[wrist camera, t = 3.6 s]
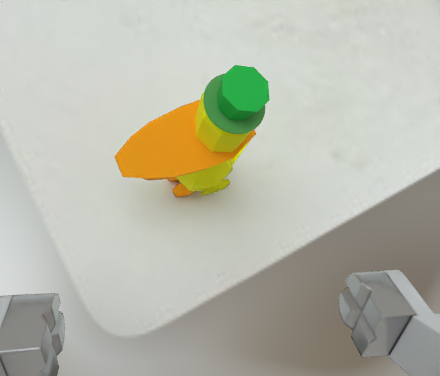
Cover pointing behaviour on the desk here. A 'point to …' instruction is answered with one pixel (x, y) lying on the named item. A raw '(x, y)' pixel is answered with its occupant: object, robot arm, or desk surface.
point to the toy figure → (200, 135)
